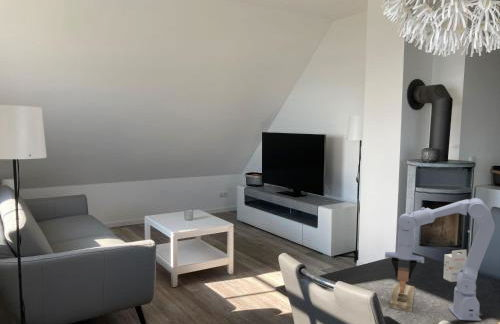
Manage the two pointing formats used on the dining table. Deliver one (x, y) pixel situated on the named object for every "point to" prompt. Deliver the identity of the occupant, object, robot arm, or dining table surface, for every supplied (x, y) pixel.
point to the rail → (402, 298)
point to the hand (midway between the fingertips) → (403, 277)
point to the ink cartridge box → (453, 264)
